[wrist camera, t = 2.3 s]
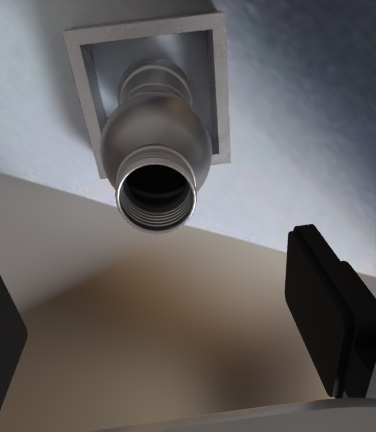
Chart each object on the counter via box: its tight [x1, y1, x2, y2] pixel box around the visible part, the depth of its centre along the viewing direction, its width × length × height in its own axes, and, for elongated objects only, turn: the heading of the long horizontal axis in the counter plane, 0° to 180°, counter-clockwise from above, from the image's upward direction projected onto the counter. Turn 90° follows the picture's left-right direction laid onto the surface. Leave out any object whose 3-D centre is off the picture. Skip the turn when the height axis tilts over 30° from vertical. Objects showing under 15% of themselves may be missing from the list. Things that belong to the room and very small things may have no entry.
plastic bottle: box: [99, 58, 212, 234], centre depth 24 cm, size 6×7×20 cm
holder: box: [62, 10, 231, 179], centre depth 31 cm, size 12×12×4 cm
